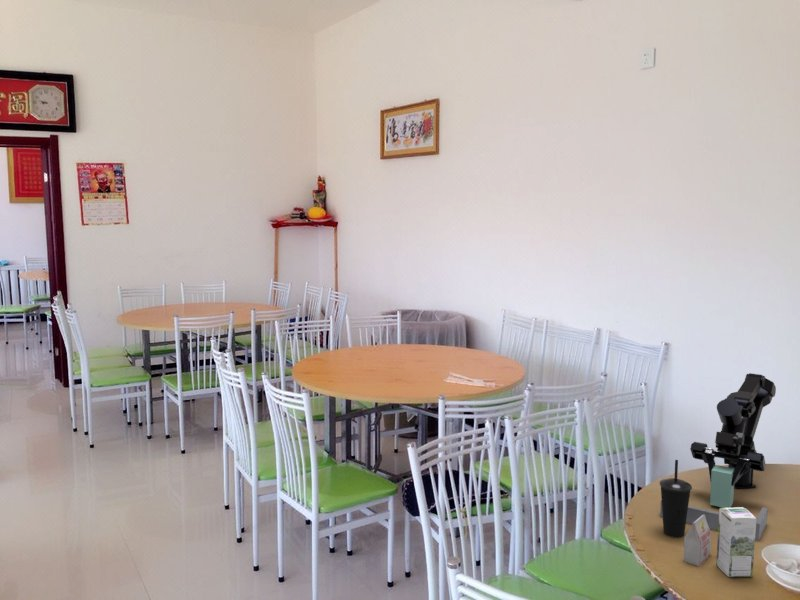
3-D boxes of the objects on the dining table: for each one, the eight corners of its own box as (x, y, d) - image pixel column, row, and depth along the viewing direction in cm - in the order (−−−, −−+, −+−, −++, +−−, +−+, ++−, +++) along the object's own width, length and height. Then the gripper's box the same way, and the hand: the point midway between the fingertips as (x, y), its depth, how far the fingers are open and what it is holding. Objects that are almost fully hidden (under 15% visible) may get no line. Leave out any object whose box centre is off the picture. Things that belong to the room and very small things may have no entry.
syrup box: (739, 564, 158) (742, 505, 156) (753, 577, 152) (756, 516, 151) (715, 565, 158) (718, 506, 156) (728, 578, 152) (731, 517, 150)
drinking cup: (651, 531, 175) (653, 457, 173) (673, 526, 178) (676, 453, 176) (673, 544, 168) (676, 467, 166) (696, 538, 171) (699, 462, 169)
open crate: (671, 504, 192) (672, 487, 191) (766, 526, 178) (767, 508, 177) (660, 518, 183) (660, 501, 182) (758, 543, 168) (759, 524, 168)
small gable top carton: (683, 561, 160) (685, 520, 159) (694, 551, 165) (696, 512, 164) (699, 566, 158) (701, 525, 156) (710, 556, 162) (711, 516, 161)
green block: (714, 498, 192) (715, 464, 191) (733, 502, 189) (734, 468, 188) (710, 504, 188) (711, 470, 187) (729, 509, 185) (731, 474, 184)
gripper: (693, 414, 195) (681, 462, 187) (765, 425, 183) (756, 477, 176) (698, 433, 202) (687, 480, 194) (769, 445, 191) (760, 496, 183)
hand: (721, 483), depth 187 cm, fingers closed on green block, 5 cm apart
